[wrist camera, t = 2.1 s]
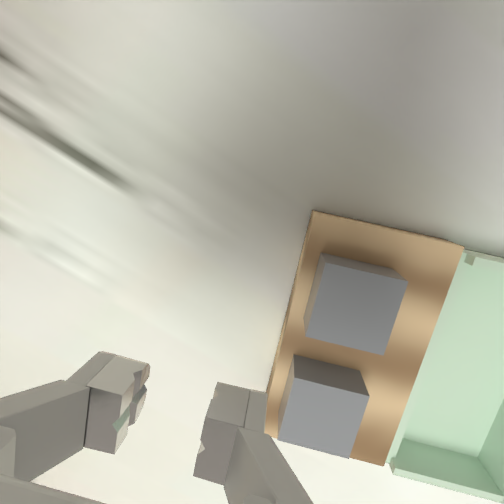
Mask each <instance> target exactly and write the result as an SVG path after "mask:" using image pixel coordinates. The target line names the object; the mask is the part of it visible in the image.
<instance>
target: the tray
mask: <svg viewBox="0 0 504 504" xmlns="http://www.w3.org/2000/svg"><path fill="white" fill-rule="evenodd" d="M385 462H386V463H389V465H390V468H391V470H392V473H393V475H397V476H401V477H404V478H408V479H412V480H416V481H420V482H423V483H427V484H431V485H435V486H438V487H442V488H446V489H450V490H454V491H457V492H461V493H465V494H469V495H473V496H476V497H480V498H484V499H488V500H491V501H495V502H499V503H503V504H504V258H501V257H497V256H492V255H488V254H483V253H479V252H474V251H470V250H465V249H464V250H463V253H462V255H461V258H460V261H459V263H458V266H457V269H456V271H455V274H454V277H453V280H452V282H451V285H450V288H449V290H448V293H447V296H446V299H445V301H444V304H443V307H442V309H441V312H440V315H439V318H438V320H437V323H436V326H435V328H434V331H433V334H432V337H431V339H430V342H429V345H428V347H427V350H426V353H425V356H424V358H423V361H422V364H421V366H420V369H419V372H418V375H417V377H416V380H415V383H414V385H413V388H412V391H411V393H410V396H409V399H408V402H407V404H406V407H405V410H404V412H403V415H402V418H401V421H400V423H399V426H398V429H397V431H396V434H395V437H394V440H393V442H392V445H391V448H390V450H389V453H388V456H387V459H386V461H385Z"/></svg>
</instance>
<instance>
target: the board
mask: <svg viewBox="0 0 504 504" xmlns="http://www.w3.org/2000/svg"><path fill="white" fill-rule="evenodd" d="M463 250H464V246H461V245H458V244H456V243H453V242H450V241H447V240H444V239H441V238H436V237H432V236H427V235H422V234H418V233H413V232H409V231H404V230H400V229H395V228H391V227H386V226H382V225H377V224H373V223H368V222H364V221H359V220H355V219H350V218H345V217H341V216H336V215H332V214H327V213H323V212H318V211H314V210H312V213H311V217H310V221H309V225H308V229H307V232H306V236H305V240H304V244H303V248H302V252H301V256H300V260H299V264H298V268H297V272H296V276H295V280H294V284H293V288H292V292H291V296H290V300H289V304H288V308H287V312H286V316H285V320H284V324H283V327H282V331H281V335H280V339H279V343H278V347H277V351H276V355H275V359H274V363H273V367H272V371H271V375H270V379H269V383H268V387H267V391H266V393H267V394H268V398H267V410H266V421H265V432H264V433H265V434H269V435H270V436H271V437H274V438H277V435H278V410H279V407H280V403H281V399H282V395H283V392H284V388H285V384H286V380H287V377H288V373H289V369H290V365H291V362H292V358H293V354H295V355H299V356H303V357H307V358H311V359H315V360H319V361H323V362H327V363H331V364H335V365H339V366H343V367H348V368H352V369H356V370H360V372H361V375H362V377H363V380H364V383H365V385H366V388H367V390H368V393H369V396H370V397H369V400H368V403H367V406H366V409H365V412H364V415H363V418H362V421H361V424H360V427H359V430H358V433H357V436H356V439H355V442H354V445H353V448H352V451H351V454H350V458H353V459H357V460H361V461H365V462H369V463H372V464H376V465H380V466H384V464H385V461H386V459H387V456H388V453H389V450H390V448H391V445H392V442H393V440H394V437H395V434H396V431H397V429H398V426H399V423H400V421H401V418H402V415H403V412H404V410H405V407H406V404H407V402H408V399H409V396H410V393H411V391H412V388H413V385H414V383H415V380H416V377H417V375H418V372H419V369H420V366H421V364H422V361H423V358H424V356H425V353H426V350H427V347H428V345H429V342H430V339H431V337H432V334H433V331H434V328H435V326H436V323H437V320H438V318H439V315H440V312H441V309H442V307H443V304H444V301H445V299H446V296H447V293H448V290H449V288H450V285H451V282H452V280H453V277H454V274H455V271H456V269H457V266H458V263H459V261H460V258H461V255H462V253H463ZM321 252H322V253H326V254H331V255H335V256H339V257H344V258H348V259H353V260H357V261H361V262H366V263H370V264H374V265H379V266H383V267H388V268H392V269H394V270H395V271H396V272H397V273H399V274H400V275H401V276H402V277H404V278H405V279H406V280H407V281H408V285H407V288H406V291H405V293H404V296H403V299H402V302H401V305H400V308H399V311H398V314H397V317H396V320H395V323H394V326H393V329H392V332H391V335H390V338H389V341H388V344H387V347H386V350H385V353H384V356H383V355H379V354H375V353H370V352H366V351H362V350H358V349H354V348H350V347H346V346H342V345H338V344H334V343H329V342H325V341H321V340H317V339H313V338H309V337H305V329H304V320H303V317H304V313H305V309H306V305H307V301H308V298H309V294H310V290H311V286H312V283H313V279H314V275H315V271H316V268H317V264H318V260H319V256H320V253H321Z"/></svg>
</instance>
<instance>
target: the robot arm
mask: <svg viewBox="0 0 504 504" xmlns="http://www.w3.org/2000/svg"><path fill="white" fill-rule="evenodd" d="M149 372H150V365H149V364H148V363H145V362H141V361H137V360H134V359H130V358H127V357H123V356H120V355H116V354H112V353H108V352H104V351H101V352H98V353H97V354H96V355H95V356H93V357H92V358H91V359H90V360H89V361H88V362H87V363H86V364H84V365H83V366H82V367H81V368H80V369H79V370H78V371H77V372H75V373H74V374H73V375H72V376H71V377H70V378H69V379H68V380H66V381H64V380H58V381H55V382H52V383H49V384H45V385H42V386H39V387H35V388H32V389H29V390H26V391H22V392H19V393H16V394H12V395H9V396H6V397H3V398H0V504H106V503H102V502H99V501H95V500H92V499H88V498H85V497H81V496H78V495H74V494H71V493H67V492H63V491H60V490H56V489H53V488H49V487H46V486H42V485H39V484H35V483H32V482H30V481H31V480H33V479H34V478H36V477H38V476H39V475H41V474H43V473H44V472H46V471H48V470H49V469H51V468H52V467H54V466H56V465H57V464H59V463H61V462H62V461H64V460H66V459H67V458H69V457H71V456H72V455H74V454H75V453H77V452H79V451H80V450H82V449H83V447H86V448H90V449H94V450H98V451H102V452H107V453H111V454H115V453H116V451H117V450H118V448H119V446H120V445H121V443H122V442H123V440H124V439H125V437H126V436H127V430H128V426H130V425H132V424H134V423H135V421H136V420H137V418H138V416H139V414H140V412H141V410H142V407H143V405H144V401H145V398H146V392H147V389H146V387H145V385H144V383H145V382H146V380H147V379H148V377H149ZM267 398H268V394H267V393H266V392H261V391H257V390H252V389H251V390H250V389H246V388H242V387H238V386H233V385H229V384H225V383H221V382H217V385H216V388H215V391H214V396H213V399H211V402H210V405H209V408H208V411H207V414H206V417H205V421H204V426H203V430H202V435H201V439H200V440H201V445H200V448H199V451H198V454H197V459H196V464H195V469H194V474H193V476H195V477H198V478H201V479H205V480H208V481H211V482H214V483H218V484H221V485H224V490H225V493H226V496H227V499H228V503H229V504H313V502H312V501H311V499H310V497H309V496H308V494H307V493H306V491H305V490H304V488H303V486H302V485H301V483H300V482H299V480H298V479H297V477H296V475H295V474H294V472H293V471H292V469H291V468H290V466H289V464H288V463H287V461H286V460H285V458H284V457H283V455H282V454H281V452H280V450H279V449H278V447H277V446H276V444H275V443H274V441H273V439H272V438H271V436H270V435H269V434H265V433H264V432H265V421H266V410H267Z"/></svg>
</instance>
